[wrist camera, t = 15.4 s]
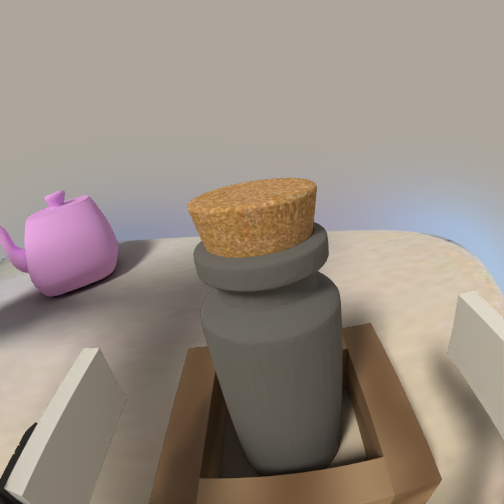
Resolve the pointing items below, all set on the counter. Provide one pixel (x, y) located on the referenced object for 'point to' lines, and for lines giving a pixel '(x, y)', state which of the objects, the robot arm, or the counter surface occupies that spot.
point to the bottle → (272, 321)
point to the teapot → (64, 245)
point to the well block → (307, 483)
